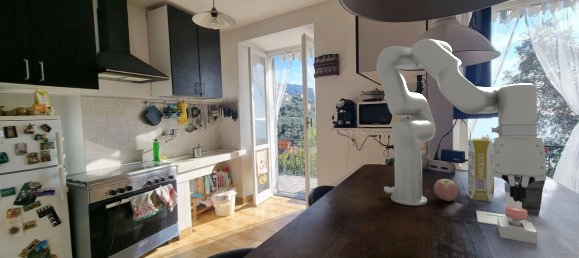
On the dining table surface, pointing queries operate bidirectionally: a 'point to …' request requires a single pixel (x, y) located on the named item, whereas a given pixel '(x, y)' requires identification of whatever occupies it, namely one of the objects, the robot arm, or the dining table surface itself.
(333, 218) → the dining table surface
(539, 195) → the beverage cup
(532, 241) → the button box
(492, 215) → the paper
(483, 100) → the robot arm
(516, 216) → the button
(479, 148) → the juice carton
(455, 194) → the apple
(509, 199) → the marker
